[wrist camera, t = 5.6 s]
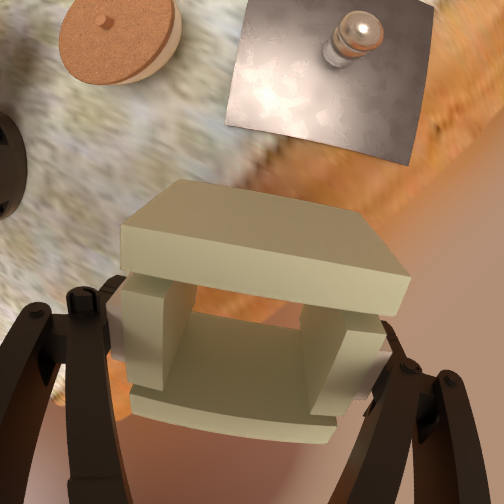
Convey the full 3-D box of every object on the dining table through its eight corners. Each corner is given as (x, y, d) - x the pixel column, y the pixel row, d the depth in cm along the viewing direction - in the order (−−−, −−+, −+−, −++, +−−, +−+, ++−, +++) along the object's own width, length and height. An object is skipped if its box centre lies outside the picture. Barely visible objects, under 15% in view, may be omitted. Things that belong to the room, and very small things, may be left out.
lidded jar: (103, 6, 24) (56, -18, 16) (198, -9, 24) (172, -48, 15) (96, 94, 29) (43, 93, 20) (191, 86, 28) (160, 75, 20)
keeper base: (226, 124, 29) (202, 127, 19) (258, -36, 22) (251, -93, 12) (402, 164, 30) (457, 187, 19) (428, 10, 23) (482, -20, 12)
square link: (168, 326, 19) (132, 413, 13) (179, 178, 16) (120, 224, 9) (313, 351, 19) (326, 444, 13) (358, 212, 16) (411, 277, 9)
